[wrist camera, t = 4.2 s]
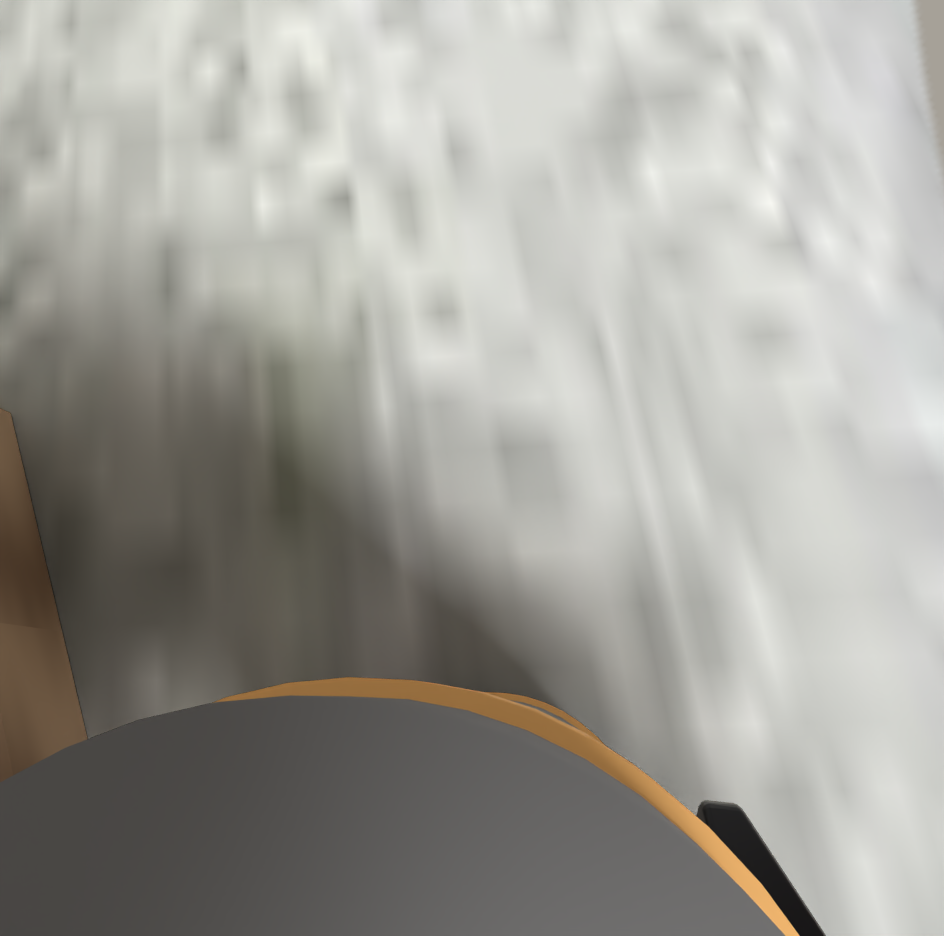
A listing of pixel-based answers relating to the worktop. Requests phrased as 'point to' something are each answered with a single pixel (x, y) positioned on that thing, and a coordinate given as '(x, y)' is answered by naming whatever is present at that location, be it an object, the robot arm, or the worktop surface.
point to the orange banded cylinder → (362, 826)
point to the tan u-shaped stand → (29, 632)
